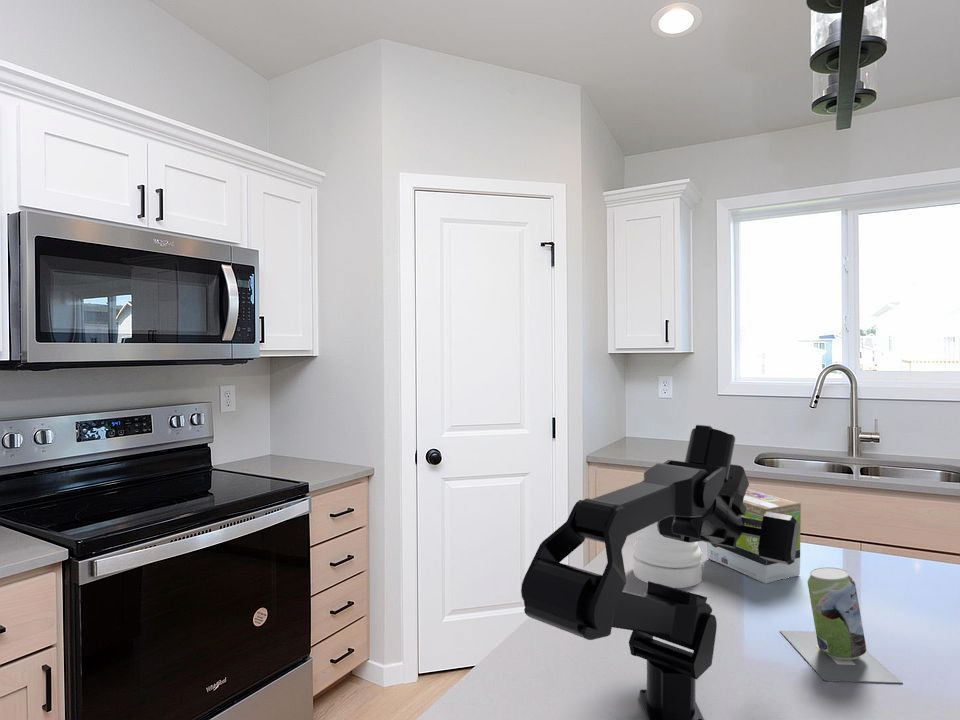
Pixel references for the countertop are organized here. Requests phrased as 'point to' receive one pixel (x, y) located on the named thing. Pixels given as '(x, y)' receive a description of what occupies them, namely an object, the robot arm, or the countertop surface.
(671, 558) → the honey pot
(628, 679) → the countertop surface
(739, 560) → the tea box
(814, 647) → the tile
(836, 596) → the beverage can
